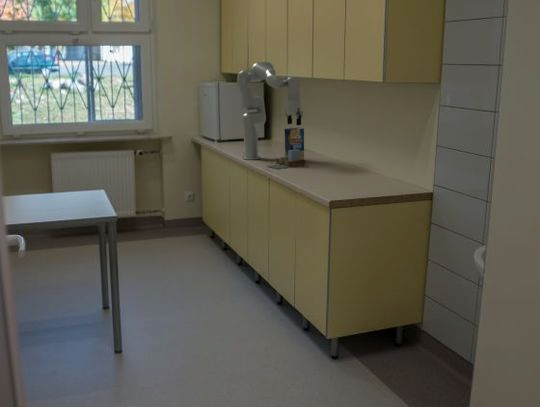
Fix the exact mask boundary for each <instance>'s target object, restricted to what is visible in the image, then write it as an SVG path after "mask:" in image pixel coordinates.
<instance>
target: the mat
mask: <svg viewBox="0 0 540 407" xmlns="http://www.w3.org/2000/svg"><path fill="white" fill-rule="evenodd" d="M266 167H267V168H270V167H271V169H274V168H275V170H282V169H281V168H284V169H289V168H290V167H287V166H282V165H278V164H272V165H271V164H270V165H267V166H266Z"/></svg>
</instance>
